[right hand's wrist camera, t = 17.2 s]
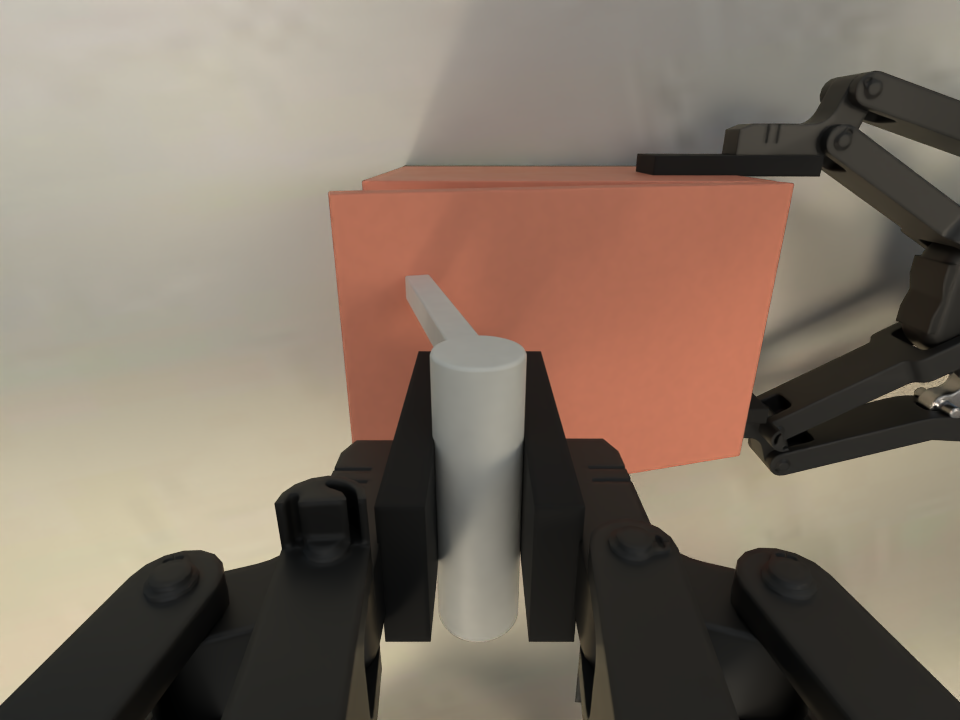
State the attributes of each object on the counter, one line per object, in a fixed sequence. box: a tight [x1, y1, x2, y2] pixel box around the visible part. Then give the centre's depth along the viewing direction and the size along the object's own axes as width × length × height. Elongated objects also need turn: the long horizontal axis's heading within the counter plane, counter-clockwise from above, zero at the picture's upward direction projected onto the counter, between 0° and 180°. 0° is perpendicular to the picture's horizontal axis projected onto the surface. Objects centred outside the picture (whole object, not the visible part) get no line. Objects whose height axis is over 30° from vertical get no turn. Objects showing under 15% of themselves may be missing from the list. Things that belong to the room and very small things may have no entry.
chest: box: [362, 165, 776, 190], centre depth 26 cm, size 14×10×11 cm
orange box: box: [328, 181, 794, 642], centre depth 15 cm, size 15×10×8 cm
